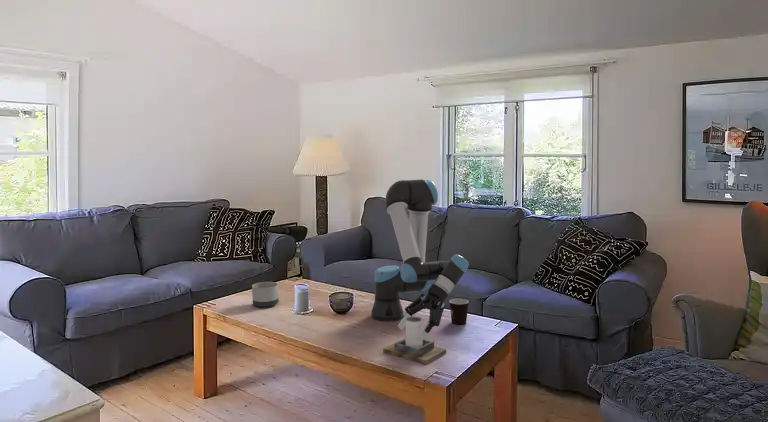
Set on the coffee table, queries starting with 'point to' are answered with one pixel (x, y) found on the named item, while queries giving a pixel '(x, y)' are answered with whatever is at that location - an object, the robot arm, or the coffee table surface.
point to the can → (413, 332)
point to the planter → (265, 294)
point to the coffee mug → (459, 311)
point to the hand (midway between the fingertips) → (409, 333)
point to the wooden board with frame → (415, 351)
